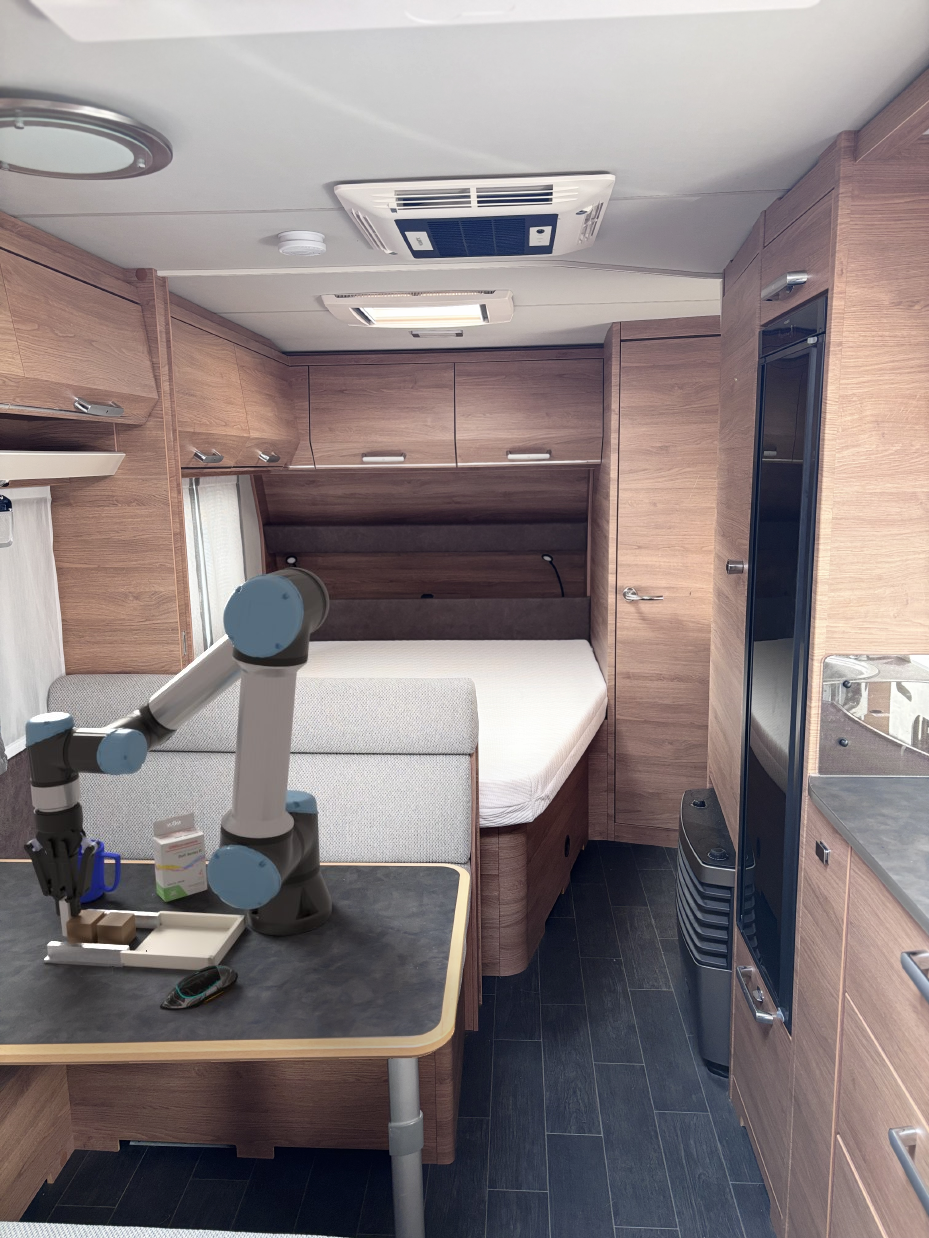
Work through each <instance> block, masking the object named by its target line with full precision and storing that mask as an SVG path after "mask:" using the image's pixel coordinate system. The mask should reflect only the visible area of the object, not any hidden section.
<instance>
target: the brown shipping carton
mask: <svg viewBox="0 0 929 1238" xmlns="http://www.w3.org/2000/svg"><path fill="white" fill-rule="evenodd" d="M104 917H105V911H92V910H87V909H81V913H80V914H79V915H78V916H76V917H72V918H71V919H70V920H69V921H67V922H66V928H67V936H66V937H67V942H72V943H89V944H98V936H97V924H98V923H99V922H100V921H101V920H102V919H103V918H104Z"/></svg>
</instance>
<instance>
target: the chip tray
mask: <svg viewBox="0 0 929 1238" xmlns="http://www.w3.org/2000/svg"><path fill="white" fill-rule="evenodd" d="M158 913H161V924H162V925H161V926H160V927H159V928H155V929H154V928H153V930H152V931H151V932H150V933H149V934H148V935H147V937H146V938H145V939H144V940H143V941H142V942H141V943H140V944H139V945H138V946H137V948H135V950H130V949H129V950H122V951H121V952H120V957H121V963H124V967H137V968H138V967H139V968H151V969H152V968H153V969H154V968H156V969H170V970H171V969H172V970H189V971H191V970H192V971H197V970H200V969H202V968H205V967H208V966H213V965H219V964H220V963H221V962H222V960H224V958H225V956H226V955H227V953H228V952H229V951H230V949H231V948H232V947H233V945H234V944H235V942H236V941H237V940H238V938H239V937H240V936H241V934H242V933H243V932H244V931H245V929H246V927H247V925H246V923H247V922H246V915H243V914H225V913H223V914H222V913H208V912H207V913H203V912H186V911H185V912H183V911H167V910H160V911H158ZM146 950H147V952H146Z"/></svg>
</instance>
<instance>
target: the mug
mask: <svg viewBox="0 0 929 1238" xmlns="http://www.w3.org/2000/svg"><path fill="white" fill-rule="evenodd" d="M90 840H91V841H92V842H94V841H99V842H100V846H99V848H98V850H97V851H96V853H95V860H94V867H93V874H92V881H91V888H90V890H89V891H88V892H87V893H86V894H85V895H84V896H82V897H81V898H80V902H81V904H83V903H88V902H89V903H90V902H92V901H94V900H97V899H99V898H100V897H101V896H102V895H103V893H112V892H114V891H115V890H116V889H117V888H118V887H119V884H120V882H121V875H122V874H121V871H122V870H121V869H122V865H121V864H122V858H121V854H119V853H115V852H105V843H104V842H103V841H101V840H99V839H90ZM81 850H82V845H81V847H80V848H79V856H78V866H79V870H80V863H81V857H82V855H83V853H82V852H81ZM107 858H108V859H113V860H114V882H113V886H107V885H106V884H105V859H107ZM66 895H67V894H66Z"/></svg>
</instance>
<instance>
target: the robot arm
mask: <svg viewBox="0 0 929 1238" xmlns="http://www.w3.org/2000/svg"><path fill="white" fill-rule="evenodd" d="M329 597H330V596H329V592H328V590H327V587H326V586H325V584H324V582H323V580H322V579H320V577H319V576H317V574H315V573H313V572H312V571H311V570H308V569H305V568H302V567H301V568H300V567H286V568H281V569H278V570H277V571H276V570H275V571H274V572H269V573H263V574H259V575H256V576H253V577H251V578H249V579H247V580H245V581H244V582H243V583H241V584H240V585H238V586H237V587H236V588H235V589H234V590H233V591H232V593H231V594H230V595H229V597H228V599H227V600H226V603H225V605H224V609H223V616H222V620H223V621H222V622H223V627H224V632H225V634H224V635H223V636H222V637H221V638H220V639H219V640H217V641H216V642H215V643H214V644H213V645H211V646H210V647H209V648H208V649H207V650H205V651H204V652H202V654H201V655H200V656H197V658H196V659H195V660H194V661H192V662H191V663H190V664H189V665H187V667H186V668H184V669H183V670H182V671H180V672H179V673H178V674H177V675H176V676H174V677H173V678H172V679H171V680H170V681H169V682H167V683H166V684H165V685H163V686H162V687H161V688H160V689H159V690H158V691H157V692H155V693H154V694H153V695H151V696H150V698H148V699H147V700H146V701H145V702H143V703H142V704H141V705H140V706H138V708H136V709H135V710H133V711H132V712H131V713H129V714H126V715H125V716H123V717H121V718H119V719H117V720H115V721H113V722H111V723H109V724H107V725H106V726H105V725H104V727H80V726H79V727H78V726H76V724H75V720H74V717H73V715H72V714H70V713H68V712H67V713H66V712H59V711H58V712H57V711H56V712H46V713H43V714H38V715H36V716H33V717H31V718H29V719H28V720H27V721H26V723H25V727H24V728H25V744H24V746H25V748H26V750H25V751H26V754H27V762H28V767H29V775H30V791H31V793H30V794H31V802H32V803H31V804H32V807H33V808H34V809H33V818H34V827H35V830H36V834H35V838H33V839H31V840H30V841H28V842H27V843H25V844H24V845H23V849H24V851H25V852H26V853H27V855H28V856H29V858H30V860H31V862H32V866H33V869H34V872H35V875H36V878H37V880H38V883H39V886H40V890H41V891H42V895H43V896H45V897H48V896H50V897H51V898H52V899H53V900H54V904H55V913H56V916H57V917H60V922H61V925H60V926H61V931H62V936H63V937H67V928H66V922H67V921H69V920H70V919H71V918H72V917H76V916H78V915H79V914H80V913H81V910H82V905H81V904H82V903H81V902H80V898H81V897H82V896H84V895H85V894H86V893H87V892H88V891H89V890H90V888H91V881H92V874H93V867H94V860H95V853H96V851H97V850H98V848H99V846H100V842H99V841H100V840H99V841H94V842H92V841H91V840H92V839H89V838H88V837H87V834H86V831H85V830H84V826H83V824H84V810H83V804H82V801H81V798H82V795H81V794H82V793H81V784H80V775H79V773H81V774H99V775H110V776H121V775H132V774H136V773H137V772H139V771H140V770H141V768H142V767H143V764H145V763H146V760H147V759H146V758H147V755H148V752H151V750H153V749H156V748H157V747H160V746H162V745H164V744H165V743H166V742H167V741H169V740H170V739H171V738H172V737H173V736H174V735H175V734H176V732H177V731H178V730H179V729H180V728H181V727H183V726H184V725H185V724H186V723H188V722H189V721H190V720H191V719H193V718H194V717H195V716H196V715H198V714H199V713H200V712H201V711H202V710H203V709H205V708H206V707H207V706H209V705H210V704H211V703H212V702H214V700H216V699H217V698H219V697H220V696H221V695H222V694H223V693H225V692H226V691H227V690H228V689H230V688H231V687H232V686H233V685H234V684H236V683H237V682H238V681H240V686H239V687H240V688H239V698H238V699H239V701H238V713H237V714H238V715H237V725H236V726H237V727H236V741H235V742H236V744H235V757H234V769H233V770H234V772H233V784H232V785H233V786H232V787H233V788H232V796H231V797H232V798H231V799H232V800H231V809H229V810H227V811H226V812H225V813H224V814H223V816H222V817H221V821H220V831H219V832H220V833H219V846H218V848H217V849H216V850H214V852H212V854H211V857H210V858H209V860H208V863H207V865H206V875H207V883H208V884H209V886H210V888H211V890H212V892H213V893H214V894H217V896H218V897H219V899H220V900H221V901H222V902H224V903H225V904H227V905H228V906H231V907H233V908H235V909H236V908H237V909H241V910H246V914H247V923H248V925H249V926H250V929H252V930H254V931H256V932H257V933H261V934H264V935H268V936H283V937H284V936H293V935H299V934H302V933H306V932H309V931H312V930H314V929H317V928H319V927H320V926H322V925H323V924H324V923H326V922H327V921H328V920H329V918H330V917H331V916H332V912H333V911H332V910H333V908H332V907H333V905H332V904H333V903H332V897H331V894H330V892H329V890H328V887H327V883H326V882H325V879H324V877H323V875H322V871H321V858H320V857H321V856H320V836H319V835H320V833H319V813H320V812H319V810H318V806H317V805H318V803H317V799H316V797H315V796H314V795H313V794H311V793H309V792H307V791H303V790H296V789H295V790H292V789H291V790H290V789H288V785H289V784H288V783H289V773H290V772H289V771H290V763H291V762H290V761H291V760H290V759H291V746H292V736H293V723H294V711H295V699H296V688H297V687H296V686H297V676H298V675H297V673H298V672H299V670H300V669H302V668H303V667H304V666H305V665H306V664H307V663H308V660H309V649H310V648H309V647H310V636H311V634H313V633H314V632H315V631H317V630H318V629H319V628H320V627H321V626H322V625H323V623H324V622H325V620H326V619H327V616H328V614H329V611H330V610H329V609H330V598H329ZM81 845H82V850H81V852H82V853H83V855H82V857H81V863H80V870H79V866H78V856H79V848H80V847H81ZM66 894H67V895H66Z"/></svg>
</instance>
